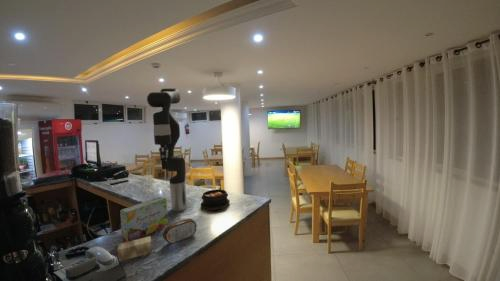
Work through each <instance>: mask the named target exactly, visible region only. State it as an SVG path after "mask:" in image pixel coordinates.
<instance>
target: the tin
mask: <svg viewBox="0 0 500 281" xmlns="http://www.w3.org/2000/svg"><path fill="white" fill-rule="evenodd" d="M197 228H198V226H197V223H196V221H194V220H193V219H192V218H186V219H182V220H179V221H176V222H173V223H170V224H168V225H166V226H165V229H164V231H163V234H162V237H163V239H164V241H165V242H166V243H167V244H175V243H178V242H181V241H184V240H186V239H189V238H191V237H193V236H194V235H195V234H196V232H197Z"/></svg>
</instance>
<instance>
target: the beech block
mask: <svg viewBox="0 0 500 281" xmlns="http://www.w3.org/2000/svg"><path fill="white" fill-rule="evenodd" d="M116 251H117V259H118V258H119V260H120V262H123V261H127V260H130V259H133V258H134V259H135V258H137V257H141V256H144V255H147V254H151V253H153V248H152V237H151V235H149V236H144V237H141V238H139V239H137V240H133V241H129V242H120V243H118V245H117V250H116Z"/></svg>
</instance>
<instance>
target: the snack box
mask: <svg viewBox="0 0 500 281" xmlns="http://www.w3.org/2000/svg"><path fill="white" fill-rule="evenodd" d="M167 206H168V204H167V197H162V196H158V197H155V198H152V199H149V200H146V201H143V202H141V203H137V204H134V205H131V206H129V207H126V208H122V209H121V210H119V213H120V228H121V238H122V239H121V240H122V242H123V243H125V242H129V241H133V240H137V239H141V238H144V237H147V236H148V235H150V234H151V233H153V232H156V231H158V230H160V229H162V228H165V227H167V226H169V223H168V222H169V220H168V209H167V208H168V207H167Z"/></svg>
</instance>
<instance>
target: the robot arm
mask: <svg viewBox="0 0 500 281" xmlns="http://www.w3.org/2000/svg"><path fill="white" fill-rule="evenodd" d="M146 101H147V104H148V105H149V106H150V107H152V108H161V110H160V111H158V112H154V113H153V115H152V119H153V121H152V122H153V140H154V145H155V146H160V147H159V148H158V152H159V158H160V162H161V170H167V171H168V172H175V175H174V176H172V177H170V178H169V188H170V190H169V192H170V204H171V211H172V212H181V211H184V210H186V209H187V208H188V204H187V203H188V202H187V188H186V161H185V158H184V156H175V153H174V152H175V148H176V145H177V143H178V141H179V139H180V135H181V131H180V130H181V129H180V123H179V122H178V121H177V119H176V118H175V117H174V115H173V114H172V112H171V111H170V109H171V105H174V104H178V103H180V101H181V93H180V91H179V89H178V88H174V87H173V88H170V87H169V88H161V89H160V91H159V92H157V91H155V92H150V93H148V95H147V97H146Z"/></svg>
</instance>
